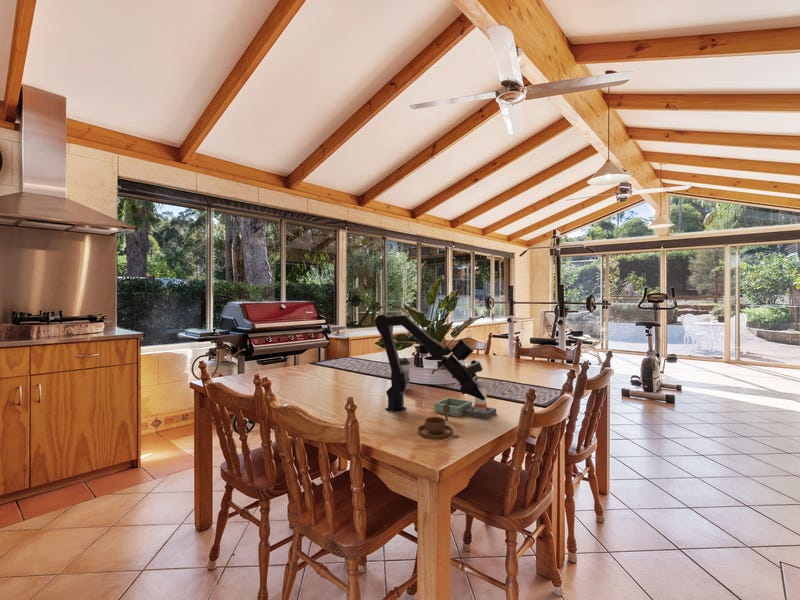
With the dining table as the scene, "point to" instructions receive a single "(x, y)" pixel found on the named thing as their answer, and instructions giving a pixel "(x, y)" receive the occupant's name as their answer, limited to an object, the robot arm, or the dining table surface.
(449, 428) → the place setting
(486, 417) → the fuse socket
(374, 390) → the dining table surface
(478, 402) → the fuse
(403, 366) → the coffee cup
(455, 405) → the parts tray
